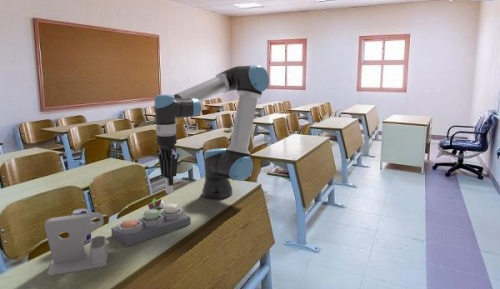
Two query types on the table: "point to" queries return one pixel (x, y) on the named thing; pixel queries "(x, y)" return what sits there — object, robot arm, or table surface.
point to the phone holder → (75, 243)
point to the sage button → (151, 215)
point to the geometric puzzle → (157, 205)
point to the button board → (150, 227)
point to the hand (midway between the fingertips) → (169, 192)
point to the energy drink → (83, 211)
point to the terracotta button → (129, 224)
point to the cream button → (171, 208)
